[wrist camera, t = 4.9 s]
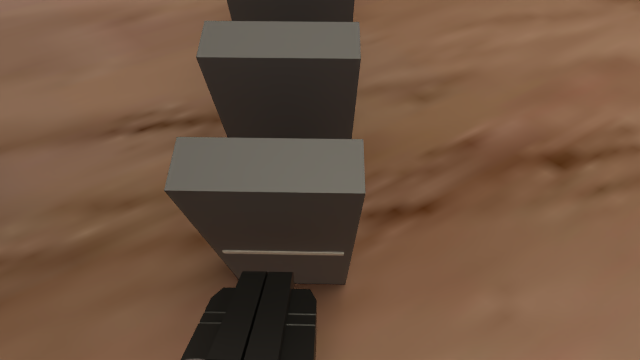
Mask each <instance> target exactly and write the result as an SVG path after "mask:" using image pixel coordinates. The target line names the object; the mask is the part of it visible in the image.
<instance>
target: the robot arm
mask: <svg viewBox="0 0 640 360" xmlns="http://www.w3.org/2000/svg"><path fill="white" fill-rule="evenodd" d="M316 303H317V300H316V299H315V297H314V295H313V294H312V292H311V290H310V289H294V273H293V272H273V271H269V272H267V271H243V272H242V273H241V276H240V278H239V280H238V283H237V285H236V288H222V289H221V290H220V291H219V292H218V293H217V294H215V295H214V296H213V297H212V298H211V299H210V301H209V304H208V306H207V308H206V310H205V313H204V314H203V316H202V318H201V320H200V324H198V326H197V328H196V330H195V332H194V334H193V336H192V338H191V340H190V342H189V344H188V346H187V348H186V350H185V352H184V354H183V356H182V358H181V360H315V357H316Z"/></svg>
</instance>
